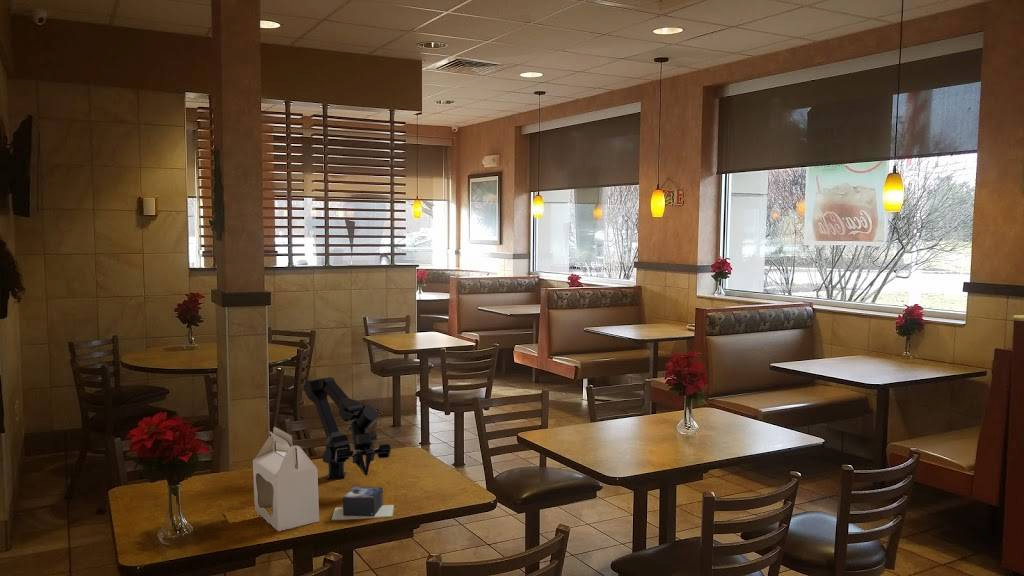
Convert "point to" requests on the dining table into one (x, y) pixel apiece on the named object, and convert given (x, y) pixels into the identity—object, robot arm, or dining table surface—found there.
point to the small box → (362, 501)
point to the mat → (382, 512)
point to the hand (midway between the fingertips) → (366, 475)
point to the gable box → (285, 483)
